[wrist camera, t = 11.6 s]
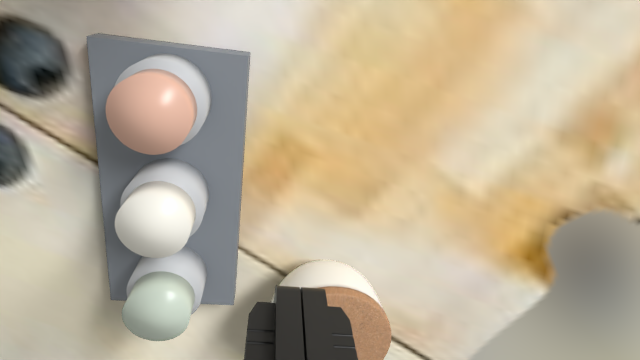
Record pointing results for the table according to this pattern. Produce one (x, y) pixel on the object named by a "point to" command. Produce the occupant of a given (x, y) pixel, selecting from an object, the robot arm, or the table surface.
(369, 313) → the lidded jar
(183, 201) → the knob mid
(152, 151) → the knob
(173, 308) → the knob
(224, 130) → the control board
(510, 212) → the table surface
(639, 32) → the table surface
